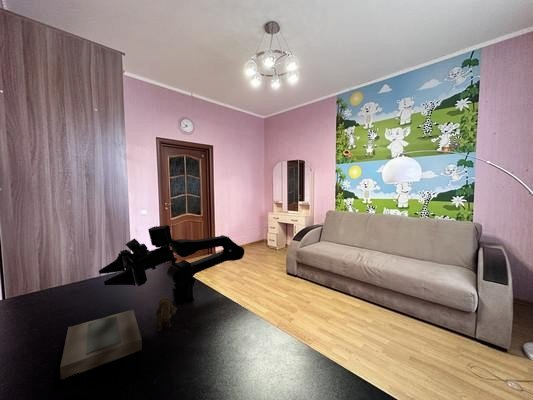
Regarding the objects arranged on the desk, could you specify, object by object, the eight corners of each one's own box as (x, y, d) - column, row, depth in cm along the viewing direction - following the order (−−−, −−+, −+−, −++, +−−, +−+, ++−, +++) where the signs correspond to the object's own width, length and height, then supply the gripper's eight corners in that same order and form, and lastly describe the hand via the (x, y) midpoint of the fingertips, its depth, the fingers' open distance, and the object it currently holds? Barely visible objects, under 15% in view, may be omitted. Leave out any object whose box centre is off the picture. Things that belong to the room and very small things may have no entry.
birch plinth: (133, 318, 75) (133, 308, 75) (141, 349, 60) (141, 338, 60) (68, 337, 65) (68, 326, 65) (60, 380, 51) (60, 366, 51)
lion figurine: (178, 331, 68) (178, 302, 68) (159, 338, 65) (158, 307, 65) (168, 309, 80) (168, 284, 80) (152, 314, 77) (151, 288, 77)
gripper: (142, 230, 84) (90, 245, 74) (160, 243, 71) (99, 263, 61) (148, 257, 87) (99, 275, 77) (166, 275, 74) (109, 299, 63)
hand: (101, 277), depth 69 cm, fingers open, 9 cm apart
